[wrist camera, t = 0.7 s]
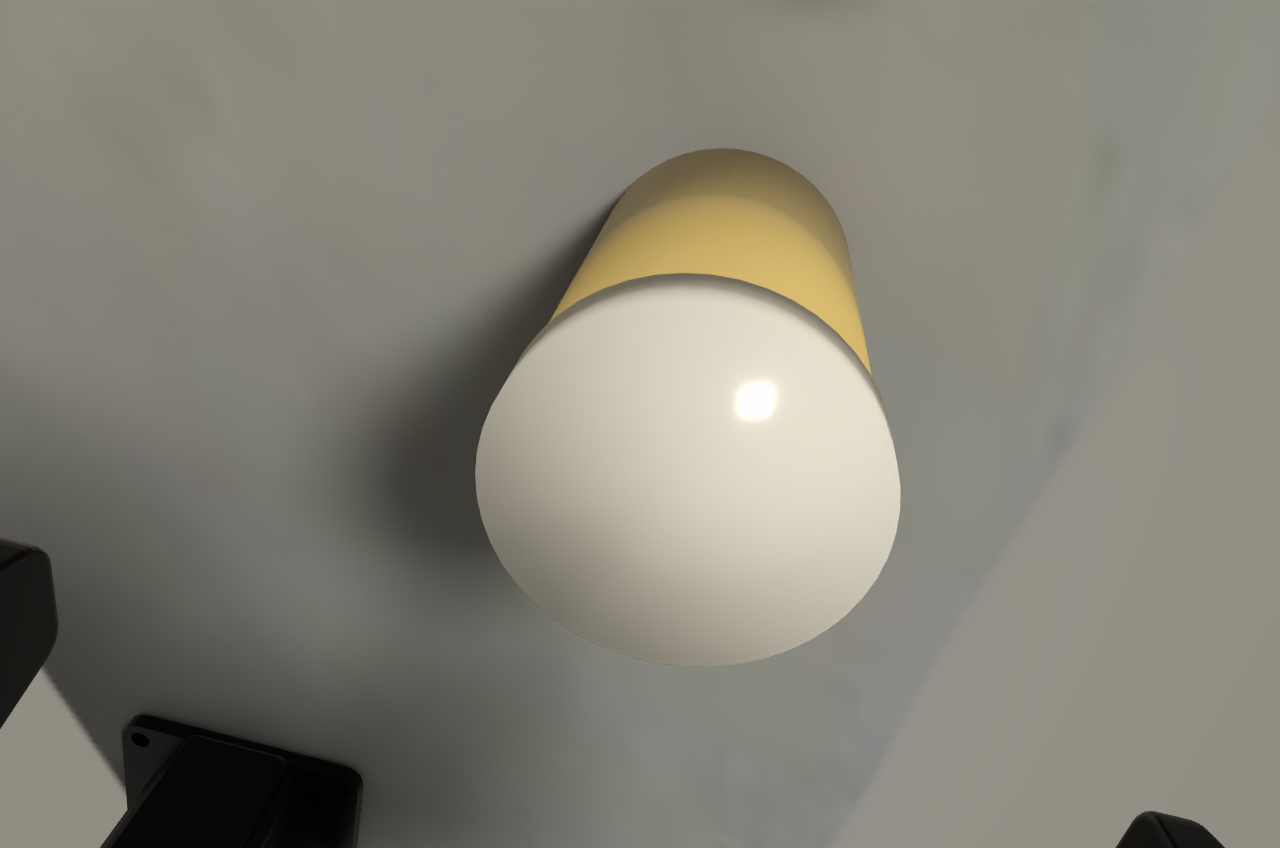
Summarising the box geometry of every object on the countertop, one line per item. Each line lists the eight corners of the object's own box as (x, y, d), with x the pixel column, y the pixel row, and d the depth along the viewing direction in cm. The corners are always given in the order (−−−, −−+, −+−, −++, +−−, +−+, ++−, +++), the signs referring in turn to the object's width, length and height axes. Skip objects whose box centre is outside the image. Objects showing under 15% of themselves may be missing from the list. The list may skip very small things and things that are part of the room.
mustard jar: (810, 421, 20) (824, 707, 13) (570, 360, 20) (453, 611, 13) (893, 180, 17) (967, 369, 10) (619, 112, 17) (506, 253, 10)
